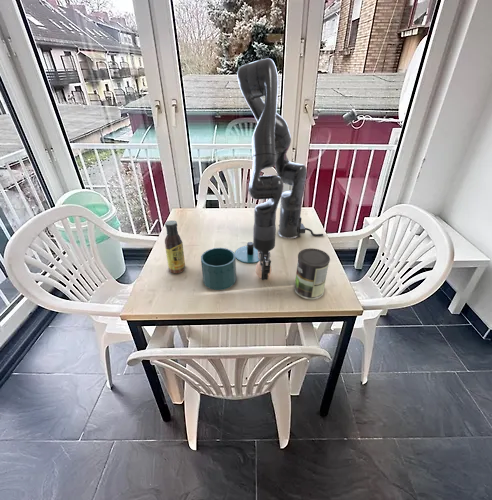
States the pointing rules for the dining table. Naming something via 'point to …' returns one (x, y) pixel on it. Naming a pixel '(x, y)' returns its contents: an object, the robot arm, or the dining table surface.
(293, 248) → the dining table surface
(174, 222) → the sauce bottle
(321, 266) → the coffee can
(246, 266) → the dining table surface
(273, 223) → the robot arm
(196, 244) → the dining table surface
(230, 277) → the pot
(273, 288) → the dining table surface
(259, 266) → the egg
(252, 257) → the pot lid
